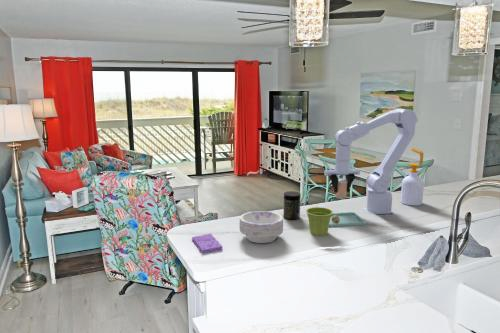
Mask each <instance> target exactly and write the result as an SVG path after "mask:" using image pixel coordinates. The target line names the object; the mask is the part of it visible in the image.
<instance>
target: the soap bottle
mask: <svg viewBox="0 0 500 333" xmlns="http://www.w3.org/2000/svg"><path fill="white" fill-rule="evenodd" d="M410 151H411V152H414V153H418V154H419V163H414V162H409V163H408V166H410V168H412V169H410V170H409V174H408V175H407V176H405V177H403V179H402V181H401V189H400V190H401V191H400V202H401V203H402V204H403V205H407V206H413V207H415V206H417V207H418V206H421V205H422V204H423V198H424V189H425V181H424V179H422V178H421V177H420V176H418V174H419V170H417V169H418V167H420V166H421V165H423V162H424V152H423V151H421V150H419V149H416V148H415V147H413V148H411V149H410Z"/></svg>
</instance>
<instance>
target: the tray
mask: <svg viewBox="0 0 500 333" xmlns="http://www.w3.org/2000/svg"><path fill="white" fill-rule="evenodd" d="M334 215H337V216H339V218H340V221H339V223H333V222H332V220H331V218H332V216H334ZM331 218H330V222H329V227H330V228H331V227H332V228H333V227H347V226H348V227H351V226H352V227H353V226H366V225H367V222H366V221H365V220H364V219H363V218H362V217H361V216H360V215H358V214H357V213H356V212H355V211H354V212H353V211H351V212H348V211H347V212H333V214H332V215H331Z"/></svg>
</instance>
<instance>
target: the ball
mask: <svg viewBox="0 0 500 333" xmlns="http://www.w3.org/2000/svg"><path fill="white" fill-rule="evenodd" d="M331 220H332V222H333V223H339V221H340V218H339V216H337V215H334V216H332V218H331Z"/></svg>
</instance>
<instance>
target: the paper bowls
mask: <svg viewBox="0 0 500 333" xmlns="http://www.w3.org/2000/svg"><path fill="white" fill-rule="evenodd" d="M239 232H240V234H243V235H244V236H245V237H246V239H247V240H248V241H250V242H252V243H257V244H267V243H271V242H274V241H275V240H276V239H277V238H278V236H280V235H282V234H283V233H284V217H283V215H281V214H280V213H277V212H274V211H265V210H256V211H255V210H253V211H248V212H245V213H242V214H241V215H240V216H239Z"/></svg>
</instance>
